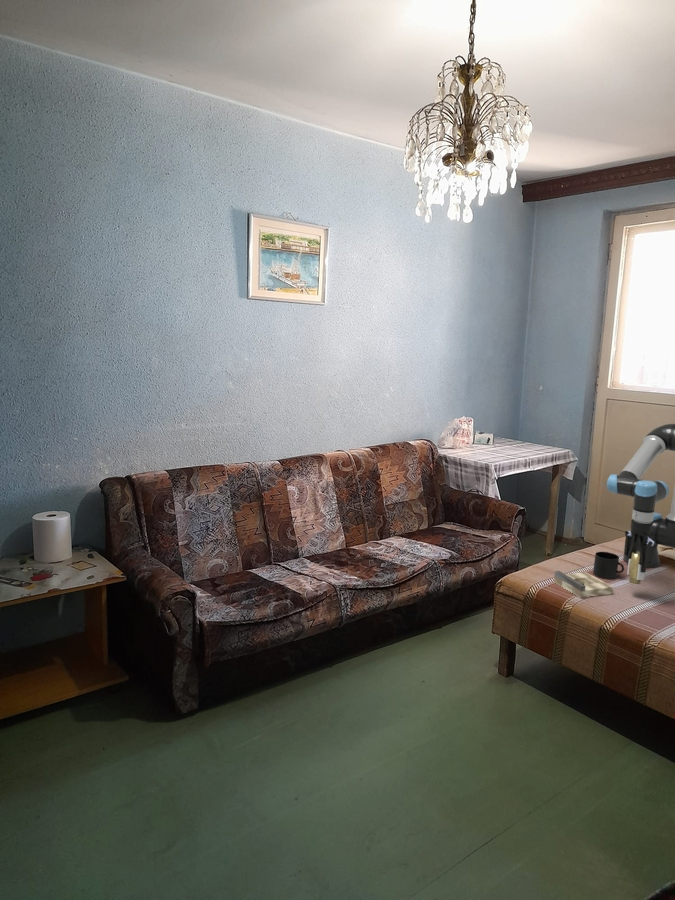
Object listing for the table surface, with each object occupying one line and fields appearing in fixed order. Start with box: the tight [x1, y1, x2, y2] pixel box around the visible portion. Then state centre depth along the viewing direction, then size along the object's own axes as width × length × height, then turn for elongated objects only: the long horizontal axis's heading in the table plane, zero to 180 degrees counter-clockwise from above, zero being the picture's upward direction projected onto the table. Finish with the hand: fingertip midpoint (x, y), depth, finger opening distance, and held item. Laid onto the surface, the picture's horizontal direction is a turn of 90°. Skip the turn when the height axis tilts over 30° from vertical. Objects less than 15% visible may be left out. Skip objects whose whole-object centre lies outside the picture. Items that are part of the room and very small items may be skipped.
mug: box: [592, 551, 625, 580], centre depth 273 cm, size 9×12×9 cm
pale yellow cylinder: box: [628, 551, 642, 585], centre depth 251 cm, size 4×4×12 cm
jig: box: [553, 570, 614, 599], centre depth 259 cm, size 16×16×5 cm
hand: (635, 576), depth 252 cm, fingers closed on pale yellow cylinder, 4 cm apart
